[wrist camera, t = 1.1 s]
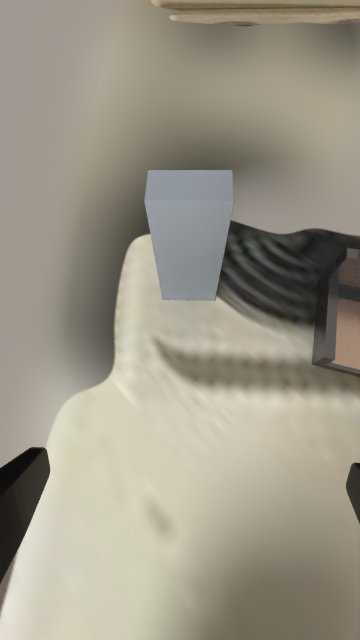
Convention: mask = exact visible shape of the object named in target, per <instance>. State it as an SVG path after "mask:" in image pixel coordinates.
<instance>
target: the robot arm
mask: <svg viewBox="0 0 360 640" xmlns="http://www.w3.org/2000/svg"><path fill="white" fill-rule="evenodd" d="M49 474H50V464H49V459H48V453H47V450H46V448H43V447H31V448H29V449H28V450H26V451H25V452H23V453H22V454H20V455H19V456H17V457H16V458H14V459H13V460H12V461H10V462H8V463H7V464H6V465H4V466H3V467H1V468H0V584H1V581H2V580H3V578H4V576H5V574H6V572H7V570H8V568H9V566H10V564H11V562H12V560H13V558H14V556H15V554H16V552H17V550H18V548H19V546H20V544H21V542H22V540H23V538H24V536H25V534H26V532H27V529H28V527H29V525H30V522H31V520H32V517H33V515H34V512H35V510H36V507H37V505H38V502H39V500H40V497H41V495H42V493H43V490H44V488H45V485H46V483H47V480H48V478H49ZM346 490H347V493H348V496H349V498H350V501H351V503H352V506H353V508H354V511H355V513H356V516H357V518H358V521H359V523H360V463H353V464H352V465H351V468H350V472H349V475H348V479H347V482H346Z"/></svg>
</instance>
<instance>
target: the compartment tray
mask: <svg viewBox="0 0 360 640" xmlns="http://www.w3.org/2000/svg"><path fill="white" fill-rule="evenodd" d="M312 365H316V366H320V367H324V368H328V369H332V370H336V371H340V372H344V373H348V374H352V375H356V376H359V377H360V250H357V249H351V248H346V250H345V251H344V252H343V253H342V255H341V256H340V257H339V258H338V259H337V261H336V262H335V263H334V264H333V265H332V267H331V268H330V269H329V270H328V271H327V273H326V274H325V275H324V276H323V277H322V279H321V280H320V281H319V285H318V297H317V309H316V322H315V334H314V346H313V358H312Z"/></svg>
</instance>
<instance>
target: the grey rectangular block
mask: <svg viewBox="0 0 360 640" xmlns="http://www.w3.org/2000/svg"><path fill="white" fill-rule="evenodd" d="M233 203H234V191H233V177H232V170H152V171H151V170H149V171H148V177H147V185H146V193H145V205H146V211H147V217H148V222H149V227H150V233H151V239H152V244H153V250H154V255H155V261H156V266H157V272H158V277H159V283H160V288H161V294H162V299H163V300H215V297H216V292H217V287H218V282H219V276H220V271H221V266H222V261H223V256H224V251H225V245H226V240H227V235H228V230H229V225H230V220H231V214H232V209H233Z"/></svg>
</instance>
